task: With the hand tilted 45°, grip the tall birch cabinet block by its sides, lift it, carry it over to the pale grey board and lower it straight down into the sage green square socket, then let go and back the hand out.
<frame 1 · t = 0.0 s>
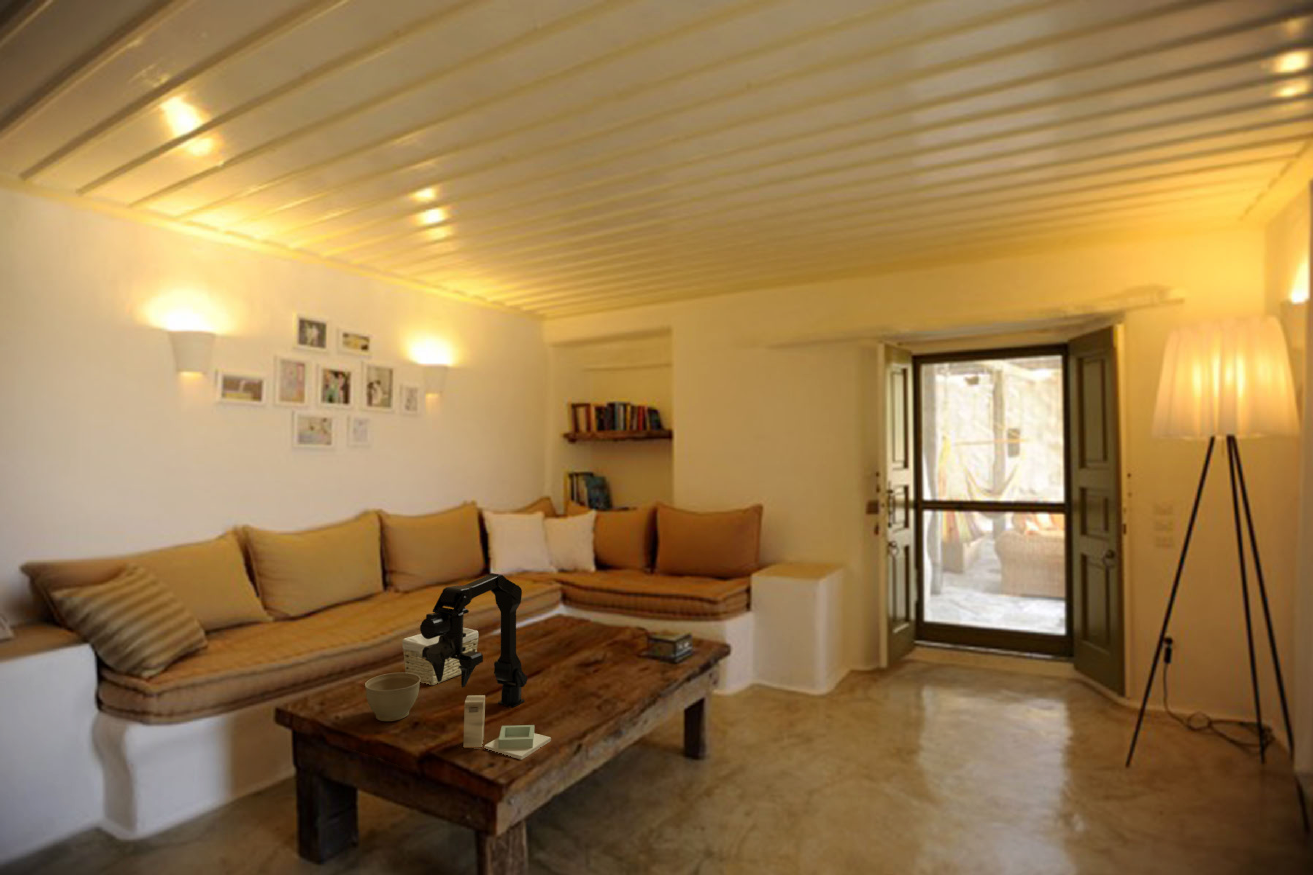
hand: (451, 684, 199), 15 cm above the table, tool pointing down, fingers open, 9 cm apart
storage basket: (440, 674, 250), on the table
planter bowl: (392, 716, 211), on the table
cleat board: (516, 744, 193), on the table
birch cabinet block: (473, 744, 192), on the table
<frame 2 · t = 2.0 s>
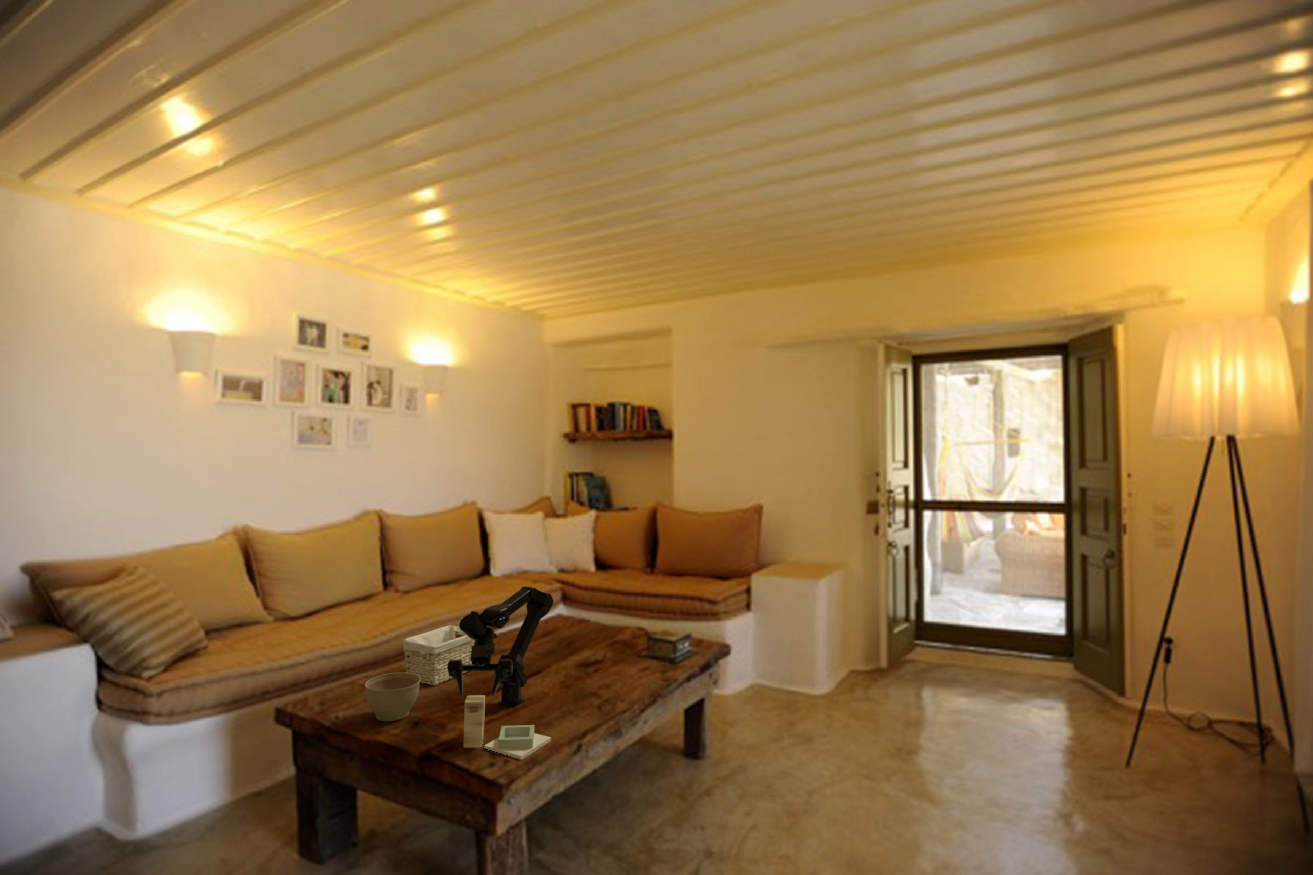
hand: (477, 695, 198), 12 cm above the table, tool tilted 45°, fingers open, 9 cm apart
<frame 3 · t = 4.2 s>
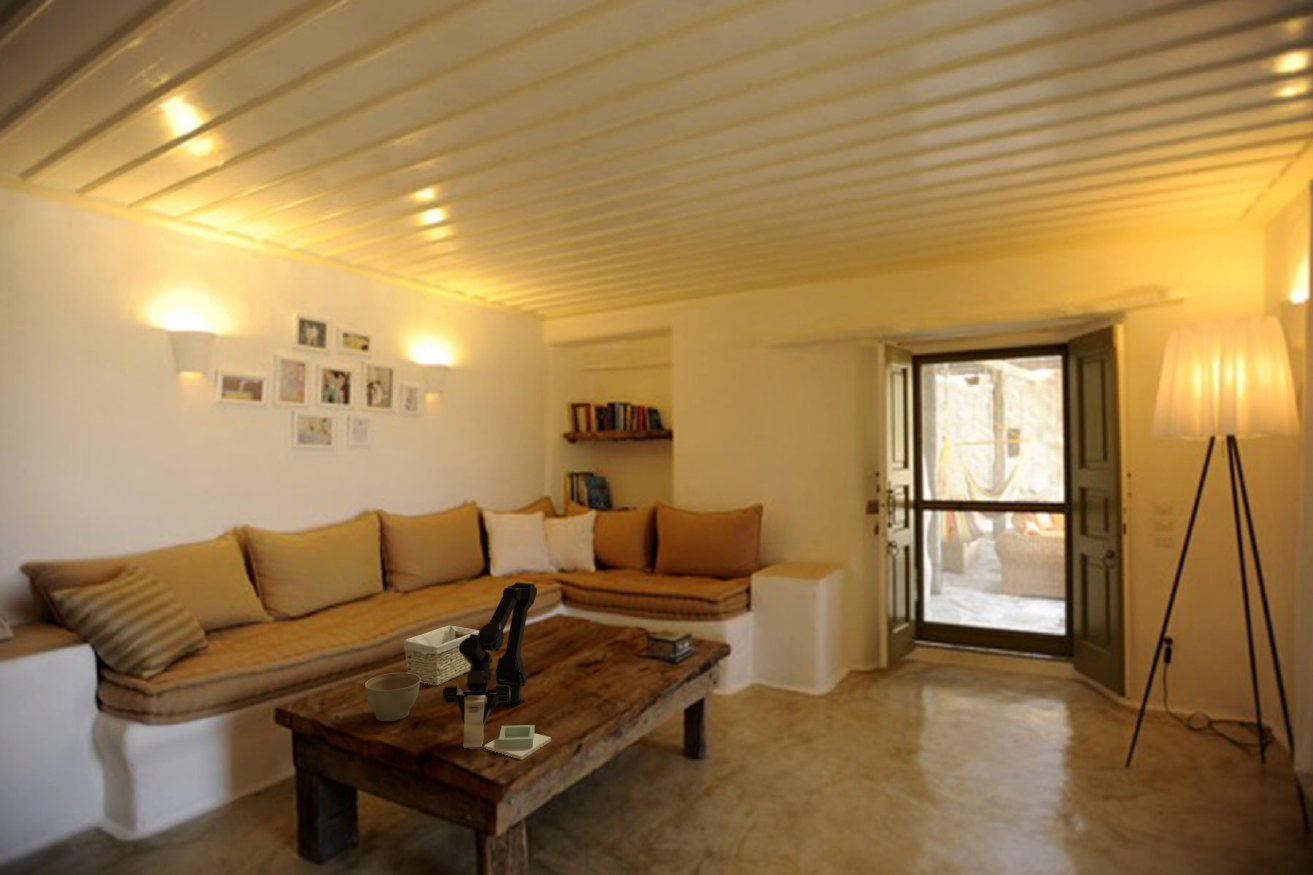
hand: (473, 722, 191), 7 cm above the table, tool tilted 45°, fingers closed on birch cabinet block, 5 cm apart
birch cabinet block: (473, 744, 192), on the table, touching gripper
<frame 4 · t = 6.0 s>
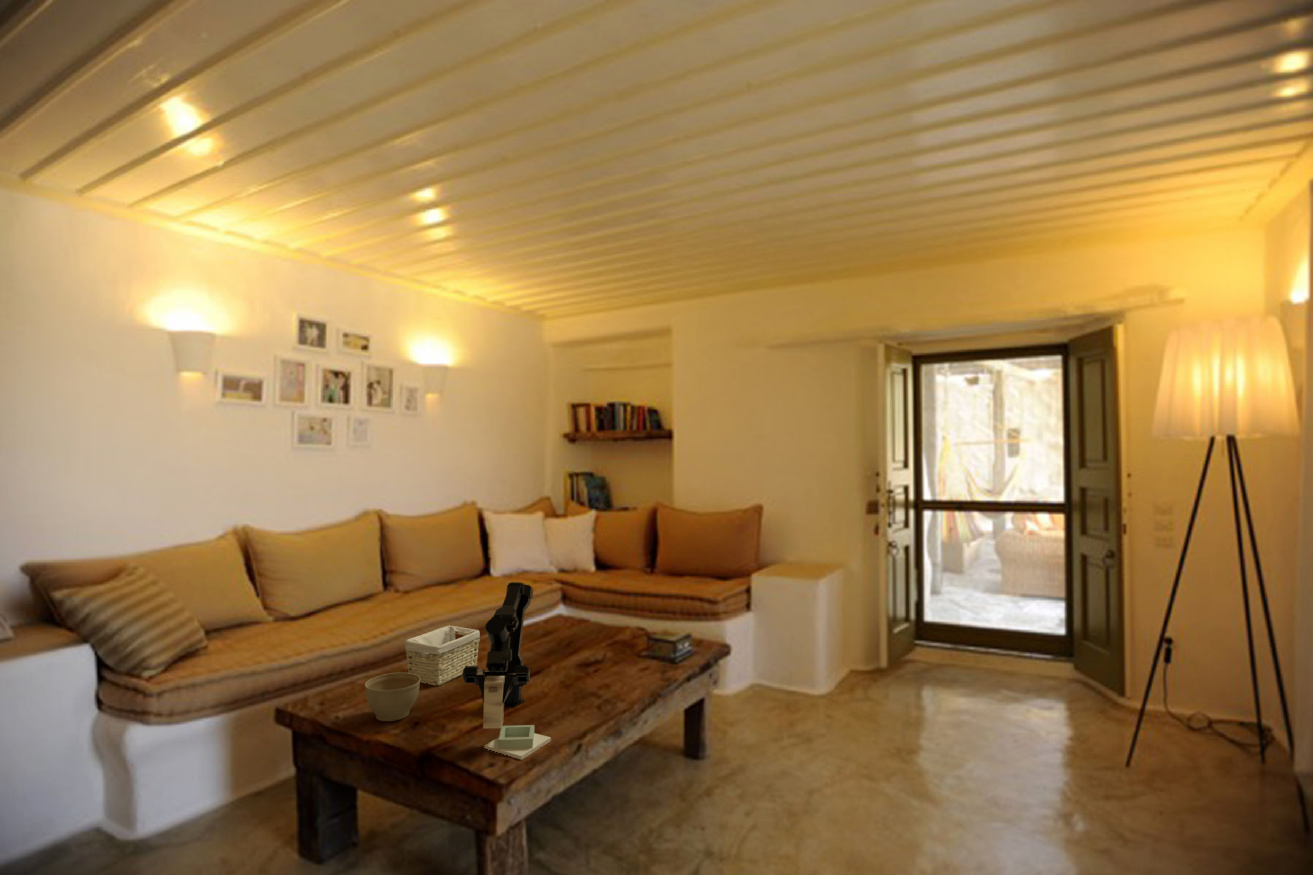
hand: (493, 702, 191), 12 cm above the table, tool tilted 45°, fingers closed on birch cabinet block, 5 cm apart
birch cabinet block: (493, 724, 193), point 6 cm above the table, touching gripper
when the fingers open (9 cm above the table, at t = 7.8 s): birch cabinet block stays where it is, resting on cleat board.
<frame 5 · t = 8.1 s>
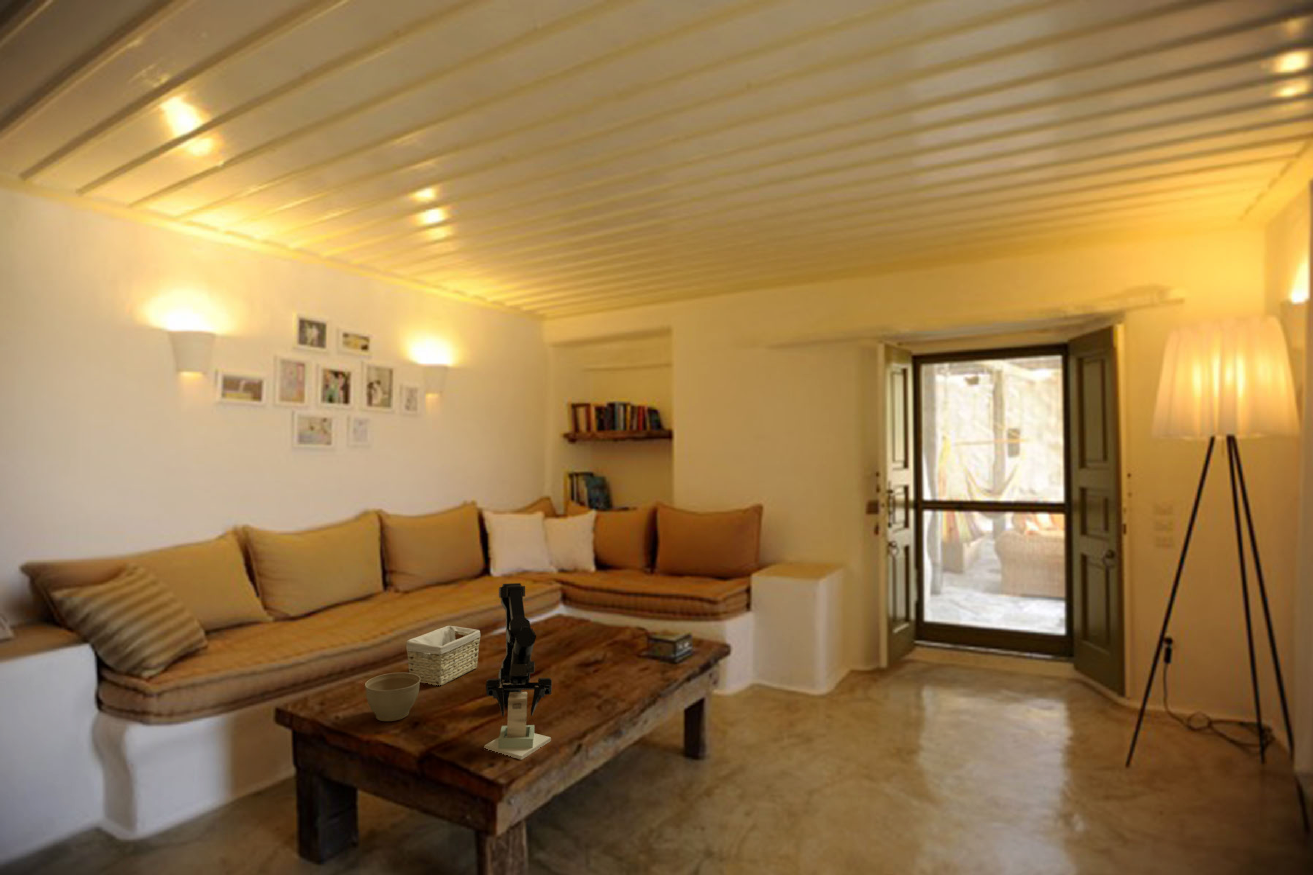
hand: (517, 715, 192), 9 cm above the table, tool tilted 45°, fingers open, 8 cm apart
birch cabinet block: (516, 740, 193), point 1 cm above the table, touching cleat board
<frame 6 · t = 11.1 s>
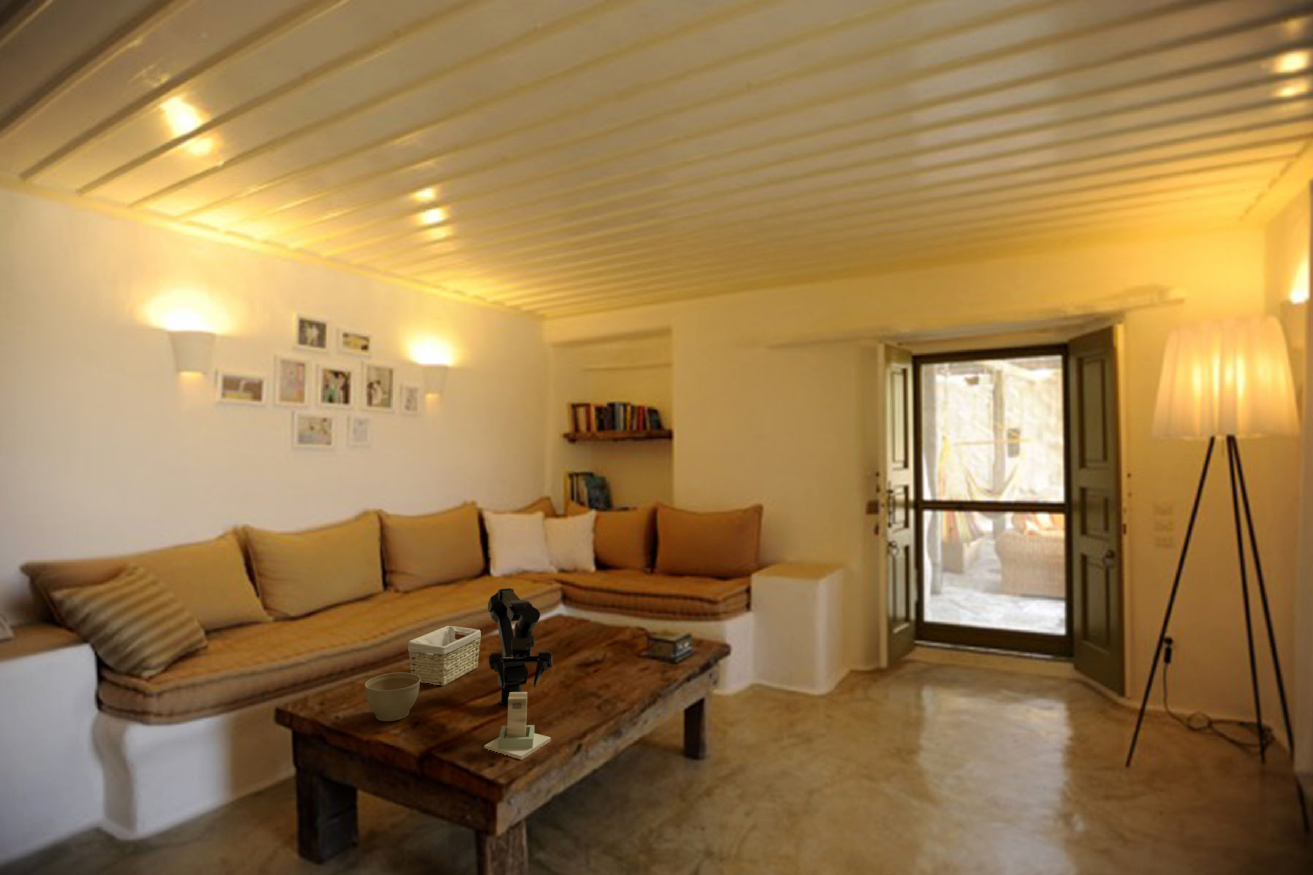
hand: (518, 687, 201), 14 cm above the table, tool tilted 45°, fingers open, 9 cm apart
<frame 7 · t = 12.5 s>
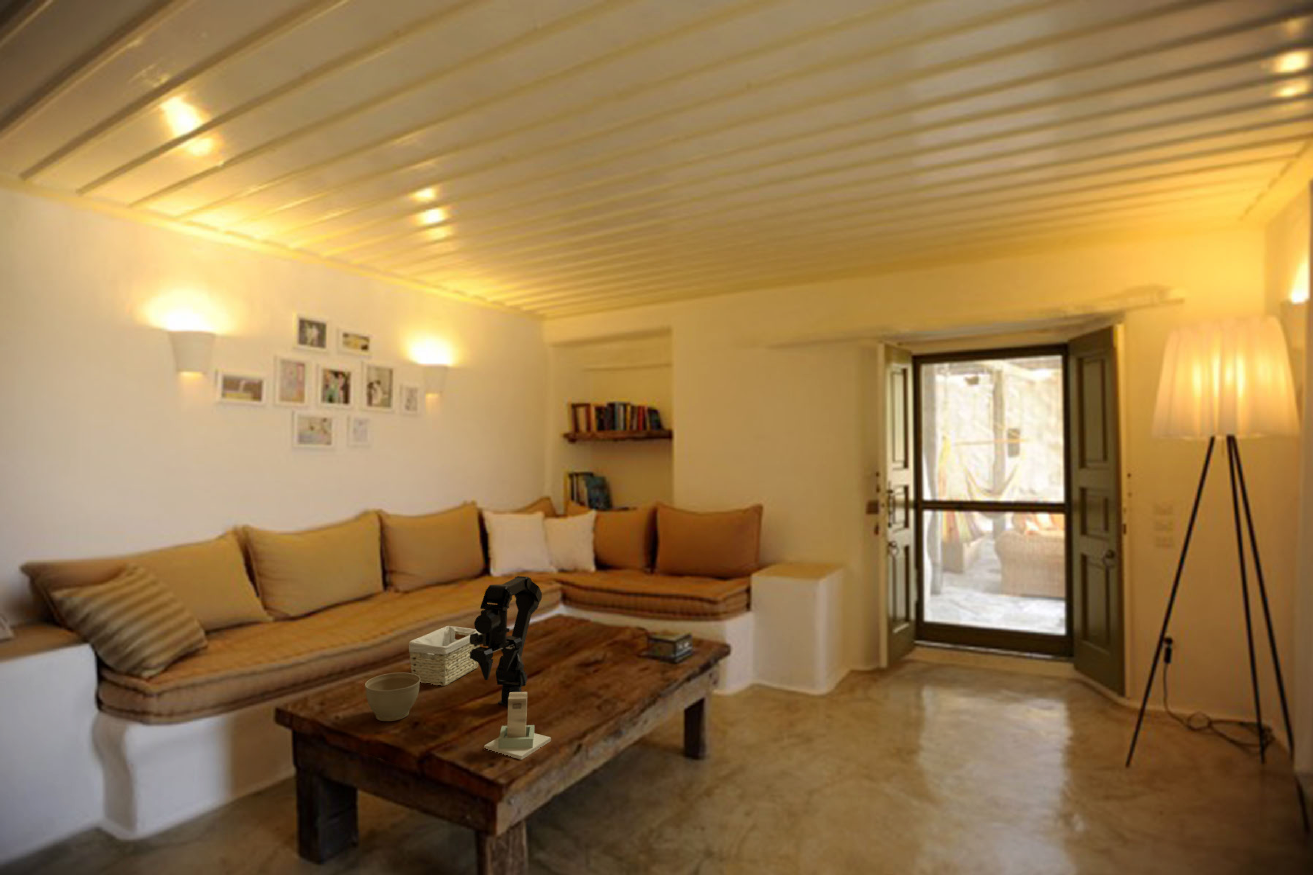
hand: (495, 675, 212), 13 cm above the table, tool pointing down, fingers open, 9 cm apart
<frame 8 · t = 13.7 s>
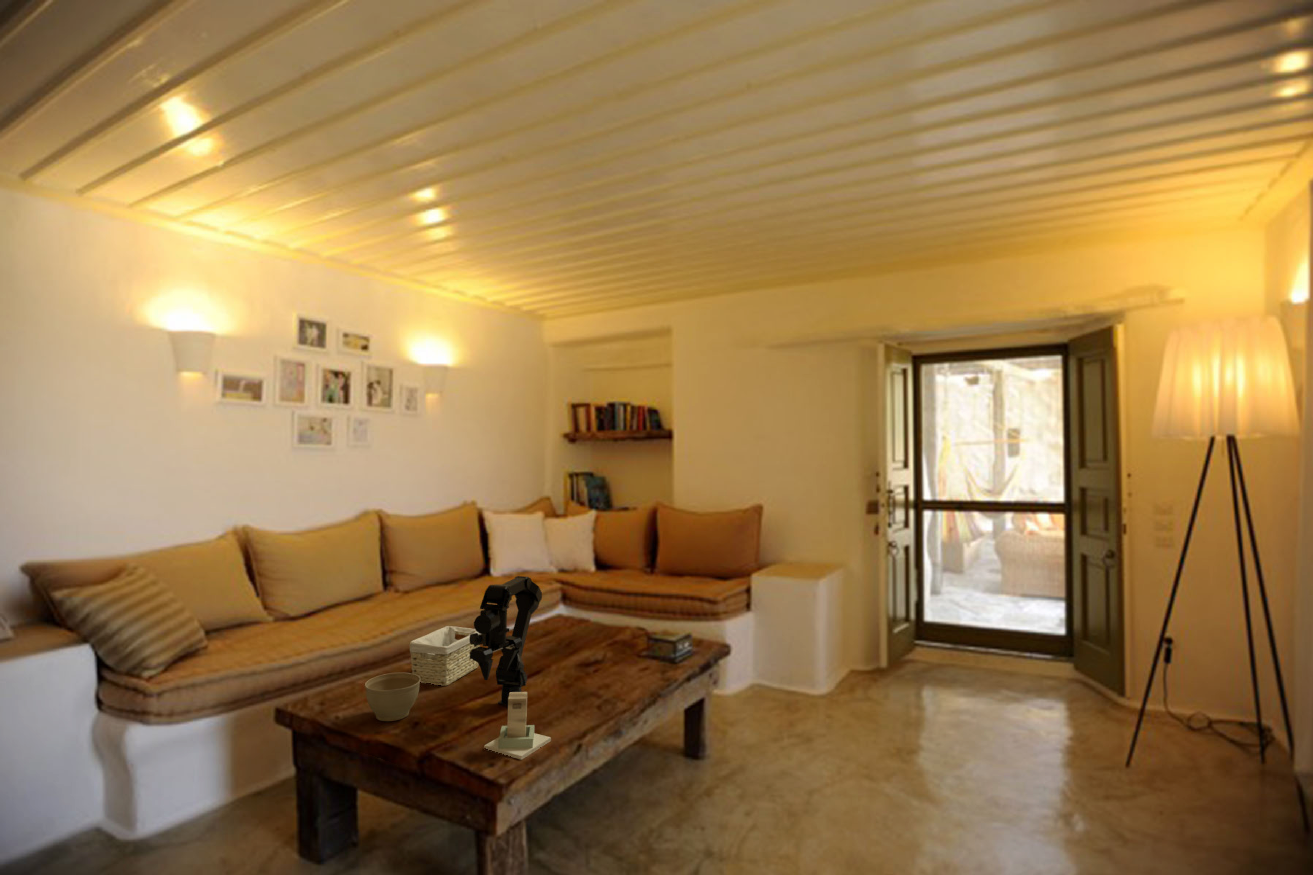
hand: (495, 675, 212), 13 cm above the table, tool pointing down, fingers open, 9 cm apart
at the end: birch cabinet block 0.1 cm off-centre on the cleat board, point 1.0 cm above the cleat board's base; birch cabinet block tilted 0°; the gripper is holding nothing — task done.
